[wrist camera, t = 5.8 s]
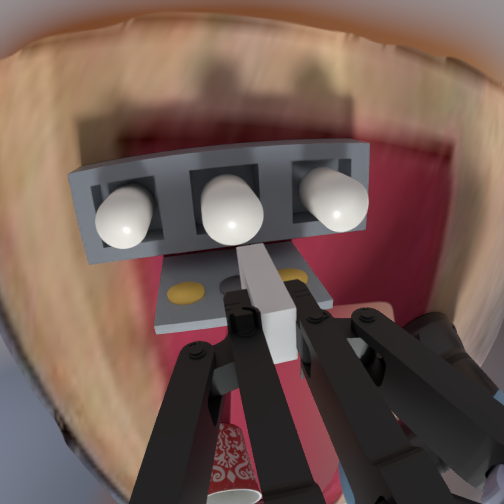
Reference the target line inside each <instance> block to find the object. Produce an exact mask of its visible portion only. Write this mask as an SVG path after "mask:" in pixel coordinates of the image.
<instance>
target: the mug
mask: <svg viewBox="0 0 504 504" xmlns="http://www.w3.org/2000/svg"><path fill="white" fill-rule="evenodd" d="M261 497H262V494H261V492H260V490H259V488H258V484H257V481H256V478H255V475H254V471H253V468H252V464H251V461H250V457H249V454H248V451H247V447H246V444H245V440H244V436H243V433H242V430H241V429H240V428H239V427H238V426H236V425H233V424H229V423H220V429H219V434H218V440H217V446H216V451H215V457H214V463H213V469H212V474H211V480H210V486H209V491H208V497H207V503H206V504H254V503H256V502H257V501H259V500H260V499H261Z"/></svg>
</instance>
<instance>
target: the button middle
mask: <svg viewBox="0 0 504 504" xmlns="http://www.w3.org/2000/svg"><path fill="white" fill-rule="evenodd" d="M200 200H201V211H202V221H203V225H204V228H205V230H206V232H207V233H208V235H209V236H210V237H211V238H212V239H214V240H215V241H217V242H219V243H221V244H224V245H239V244H242V243H245V242H247V241H249V240H250V239H251V238H253V237H254V236H255V235H256V234H257V232H258V231H259V229H260V228H261V225H262V222H263V214H264V213H263V208H262V205H261V202H260V201H259V199H258V198H257V196H256V195H255V194H254V192H253V191H252V190H251V188H250V187H249V185H248V184H247V183H246V182H245V181H244V180H243V179H242V178H240V177H238V176H236V175H232V174H222V175H218V176H216V177H214V178H212V179H211V180H209V181H208V182H207V183H206V185H205V186H204V188H203V190H202V193H201V199H200Z"/></svg>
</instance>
